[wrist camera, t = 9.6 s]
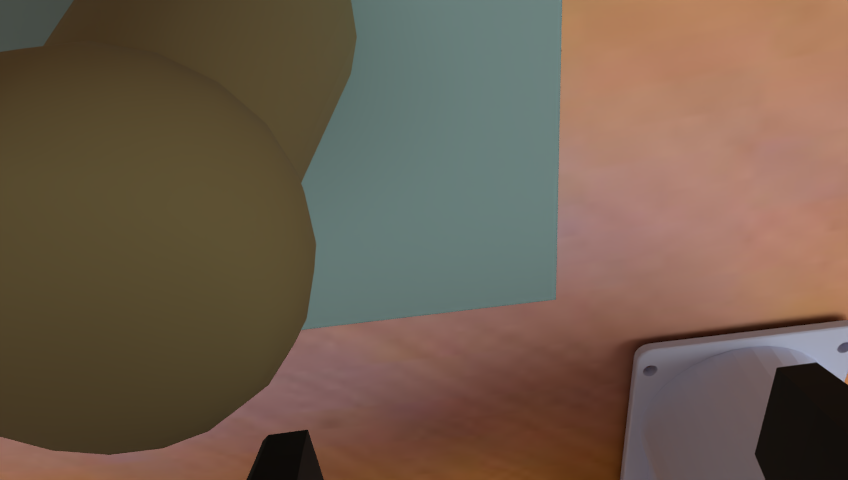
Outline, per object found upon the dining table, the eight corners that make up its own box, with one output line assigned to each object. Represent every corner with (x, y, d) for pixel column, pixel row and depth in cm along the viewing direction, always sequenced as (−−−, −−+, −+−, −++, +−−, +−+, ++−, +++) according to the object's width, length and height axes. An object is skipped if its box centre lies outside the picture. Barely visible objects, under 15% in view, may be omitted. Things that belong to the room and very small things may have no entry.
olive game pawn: (123, 144, 17) (-141, 534, 8) (68, -117, 14) (-472, 62, 5) (356, 149, 18) (346, 520, 9) (357, -101, 15) (342, 84, 6)
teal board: (550, 284, 22) (555, 299, 21) (66, 341, 22) (57, 358, 21) (561, -506, 12) (572, -523, 11) (-334, -405, 12) (-375, -416, 11)
